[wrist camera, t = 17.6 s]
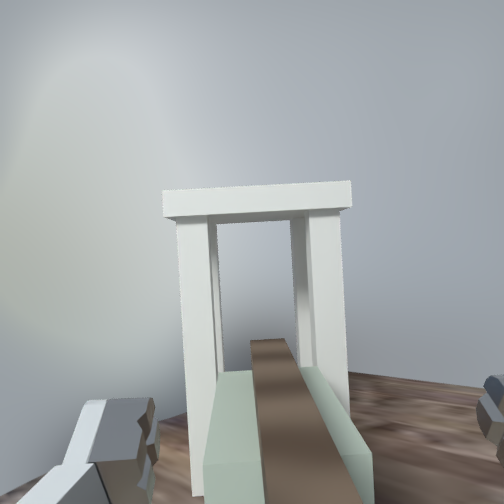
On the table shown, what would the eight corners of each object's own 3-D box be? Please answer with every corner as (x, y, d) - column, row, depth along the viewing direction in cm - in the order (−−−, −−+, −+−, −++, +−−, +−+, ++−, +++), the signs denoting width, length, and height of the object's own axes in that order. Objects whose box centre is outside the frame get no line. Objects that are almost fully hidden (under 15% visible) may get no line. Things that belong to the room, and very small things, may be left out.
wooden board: (252, 374, 37) (250, 340, 37) (286, 372, 37) (284, 338, 37) (275, 614, 13) (270, 518, 13) (371, 605, 13) (367, 511, 13)
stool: (199, 423, 58) (186, 207, 58) (328, 414, 59) (316, 200, 58) (180, 503, 40) (161, 190, 40) (366, 490, 41) (350, 180, 40)
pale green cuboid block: (226, 513, 38) (218, 372, 38) (324, 506, 38) (317, 366, 38) (216, 706, 22) (202, 465, 22) (384, 692, 22) (372, 453, 22)
